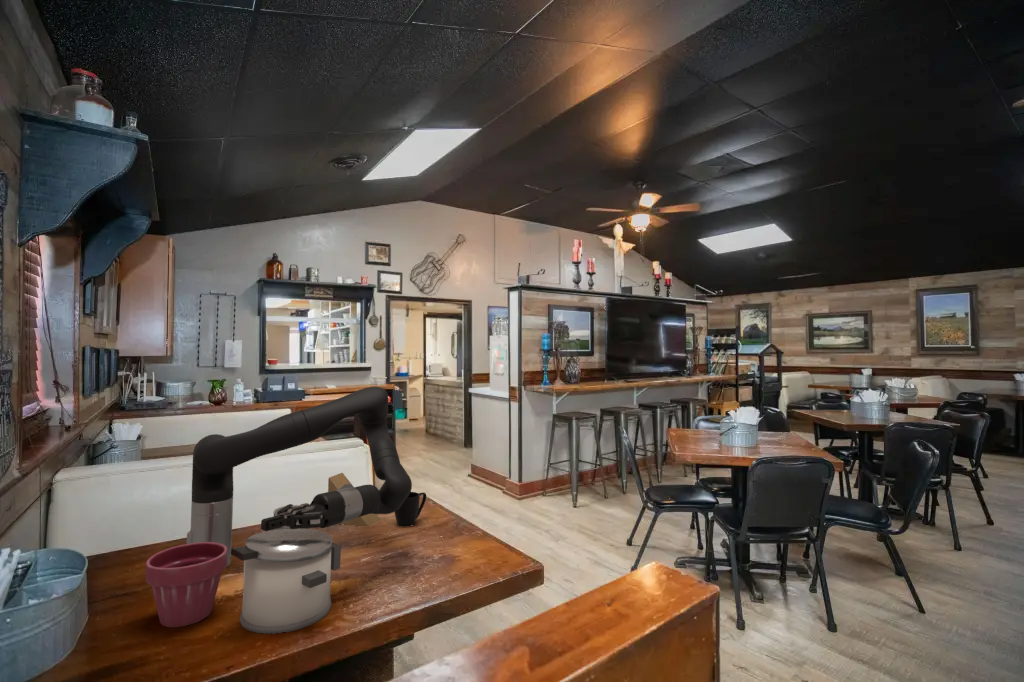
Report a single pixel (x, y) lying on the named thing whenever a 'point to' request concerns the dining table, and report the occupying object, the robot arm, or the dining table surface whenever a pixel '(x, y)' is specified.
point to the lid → (285, 545)
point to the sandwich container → (342, 482)
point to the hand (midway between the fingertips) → (263, 525)
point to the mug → (410, 509)
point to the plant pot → (186, 581)
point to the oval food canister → (287, 593)
